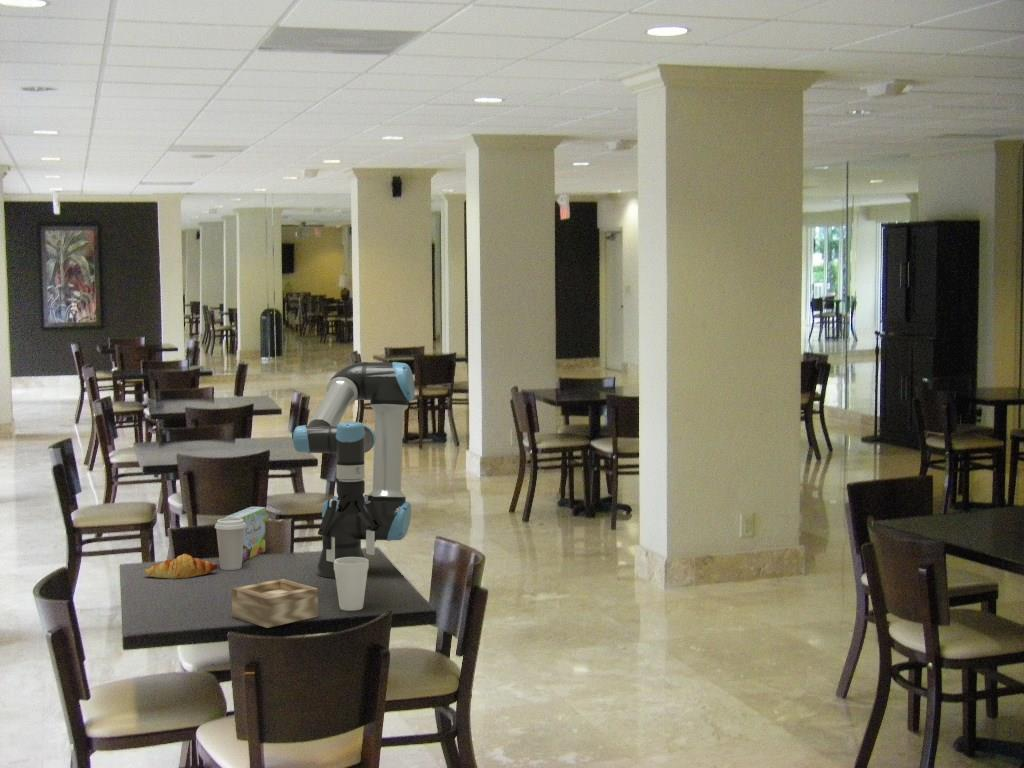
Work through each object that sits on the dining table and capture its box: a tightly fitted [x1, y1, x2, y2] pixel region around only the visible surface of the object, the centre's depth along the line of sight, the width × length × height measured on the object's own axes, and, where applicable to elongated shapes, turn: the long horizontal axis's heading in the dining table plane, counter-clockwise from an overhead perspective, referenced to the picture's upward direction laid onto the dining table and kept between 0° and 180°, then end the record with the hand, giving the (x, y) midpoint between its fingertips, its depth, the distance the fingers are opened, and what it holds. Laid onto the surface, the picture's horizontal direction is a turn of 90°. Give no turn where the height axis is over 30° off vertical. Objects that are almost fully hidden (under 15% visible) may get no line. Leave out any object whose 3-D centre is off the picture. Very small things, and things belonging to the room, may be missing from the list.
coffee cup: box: [214, 517, 246, 571], centre depth 383 cm, size 10×10×15 cm
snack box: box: [224, 506, 266, 563], centre depth 398 cm, size 21×6×15 cm, turn 168°
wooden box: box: [231, 578, 319, 629], centre depth 326 cm, size 16×16×8 cm
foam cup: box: [334, 557, 370, 612], centre depth 335 cm, size 10×9×13 cm
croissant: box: [144, 553, 218, 580], centre depth 373 cm, size 21×10×8 cm, turn 108°
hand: (350, 557), depth 334 cm, fingers open, 13 cm apart
